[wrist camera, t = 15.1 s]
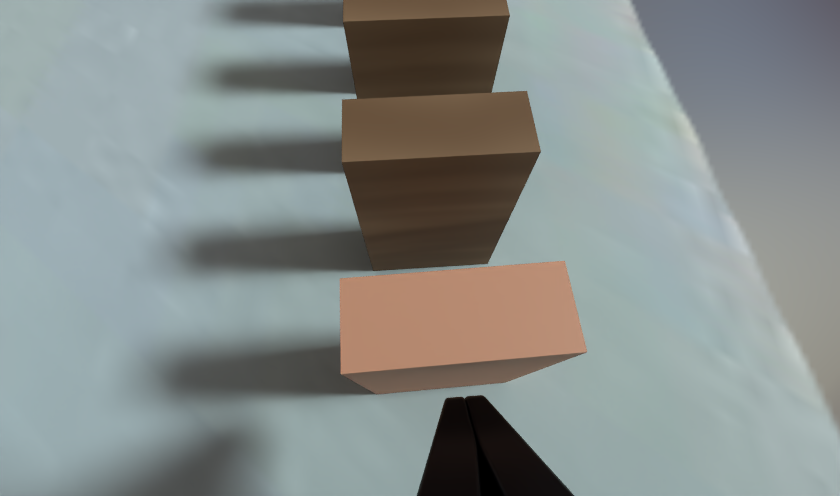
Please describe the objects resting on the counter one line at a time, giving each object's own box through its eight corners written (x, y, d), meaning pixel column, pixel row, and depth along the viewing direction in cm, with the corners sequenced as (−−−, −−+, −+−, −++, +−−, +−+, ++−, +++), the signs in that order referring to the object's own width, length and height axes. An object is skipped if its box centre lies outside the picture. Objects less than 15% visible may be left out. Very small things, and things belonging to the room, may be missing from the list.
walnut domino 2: (487, 263, 17) (540, 151, 10) (373, 270, 17) (342, 161, 10) (481, 222, 18) (526, 91, 11) (372, 229, 18) (342, 99, 11)
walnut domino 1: (473, 167, 19) (509, 15, 12) (370, 173, 19) (343, 21, 12) (468, 134, 20) (499, -28, 13) (369, 139, 20) (343, -23, 13)
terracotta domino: (505, 382, 15) (587, 351, 8) (376, 394, 15) (340, 374, 8) (496, 331, 16) (564, 260, 9) (374, 341, 16) (339, 278, 9)
